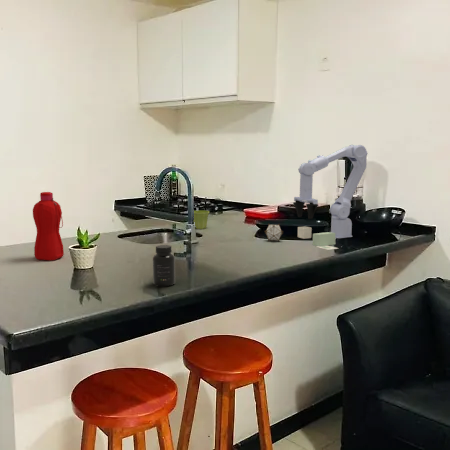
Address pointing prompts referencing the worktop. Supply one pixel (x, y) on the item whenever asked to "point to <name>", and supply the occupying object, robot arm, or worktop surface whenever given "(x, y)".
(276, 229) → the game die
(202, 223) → the plant pot
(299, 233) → the ivory brick
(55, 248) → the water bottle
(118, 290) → the worktop surface
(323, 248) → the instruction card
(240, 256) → the worktop surface
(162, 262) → the supplement bottle
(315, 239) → the sage brick
